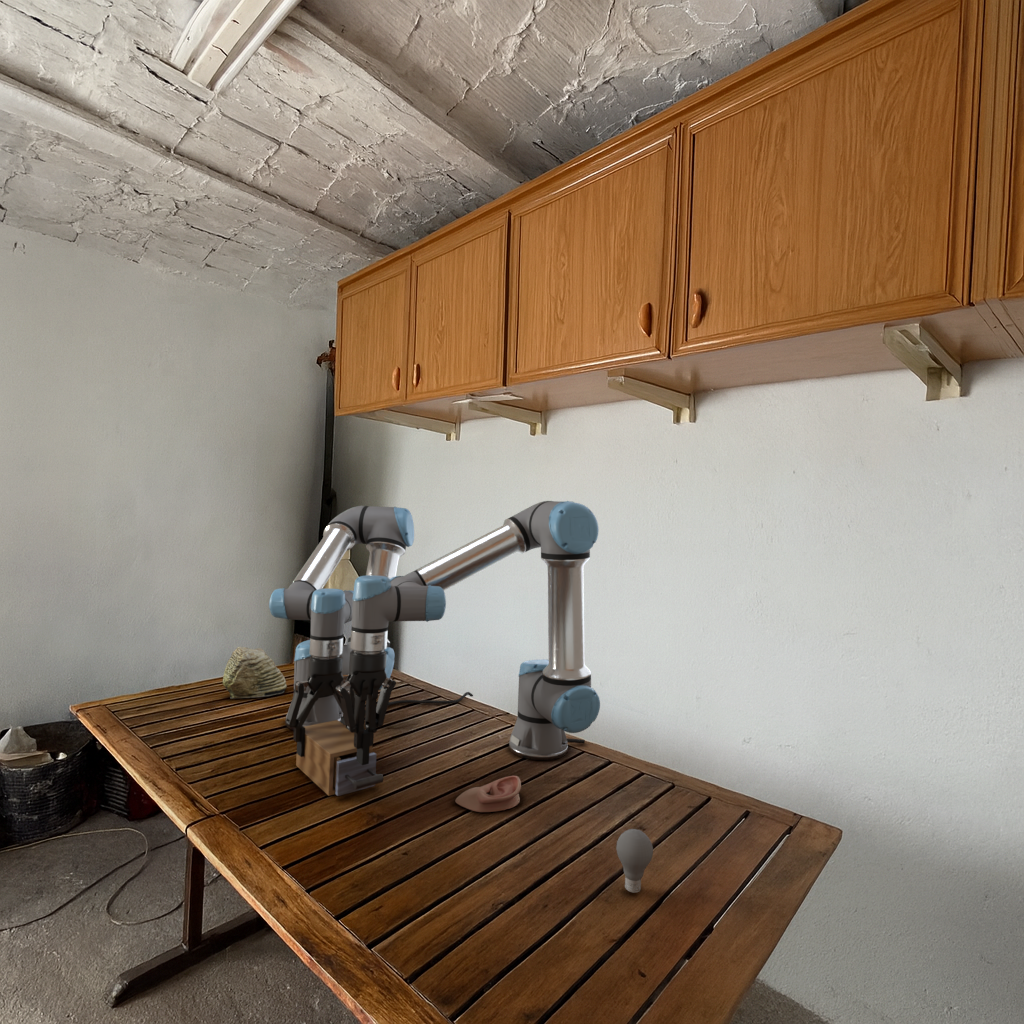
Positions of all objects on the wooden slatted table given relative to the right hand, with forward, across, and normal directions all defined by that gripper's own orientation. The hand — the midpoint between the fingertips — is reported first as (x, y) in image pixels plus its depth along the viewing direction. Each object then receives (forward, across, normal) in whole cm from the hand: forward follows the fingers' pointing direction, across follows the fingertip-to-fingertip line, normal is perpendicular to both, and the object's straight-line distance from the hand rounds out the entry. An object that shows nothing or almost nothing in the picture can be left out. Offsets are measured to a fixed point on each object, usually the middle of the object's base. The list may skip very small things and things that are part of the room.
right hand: (362, 762), depth 133 cm
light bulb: (+8, +23, -54) cm, 59 cm away
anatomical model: (+8, +22, -15) cm, 28 cm away
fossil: (+8, +4, +82) cm, 82 cm away
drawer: (+7, 0, +8) cm, 11 cm away
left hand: (+5, 0, +21) cm, 21 cm away
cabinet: (+8, 0, +15) cm, 17 cm away
